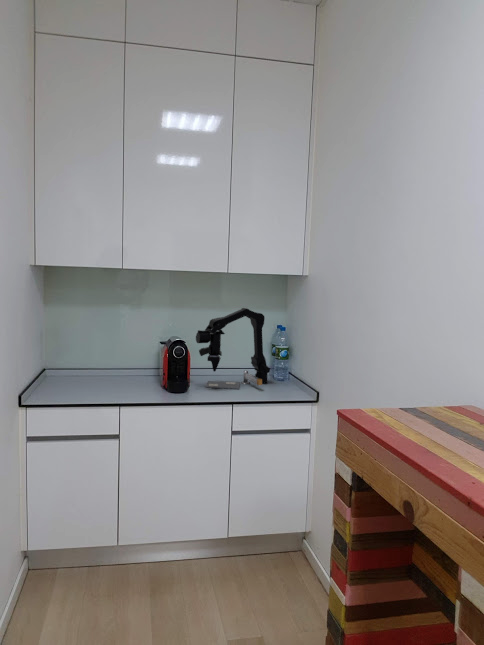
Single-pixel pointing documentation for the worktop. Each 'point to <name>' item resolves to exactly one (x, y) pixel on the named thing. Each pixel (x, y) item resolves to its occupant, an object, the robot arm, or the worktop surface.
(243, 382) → the base
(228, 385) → the board
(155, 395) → the worktop surface
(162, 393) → the worktop surface
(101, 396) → the worktop surface
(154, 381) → the worktop surface
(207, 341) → the robot arm
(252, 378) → the swing arm
